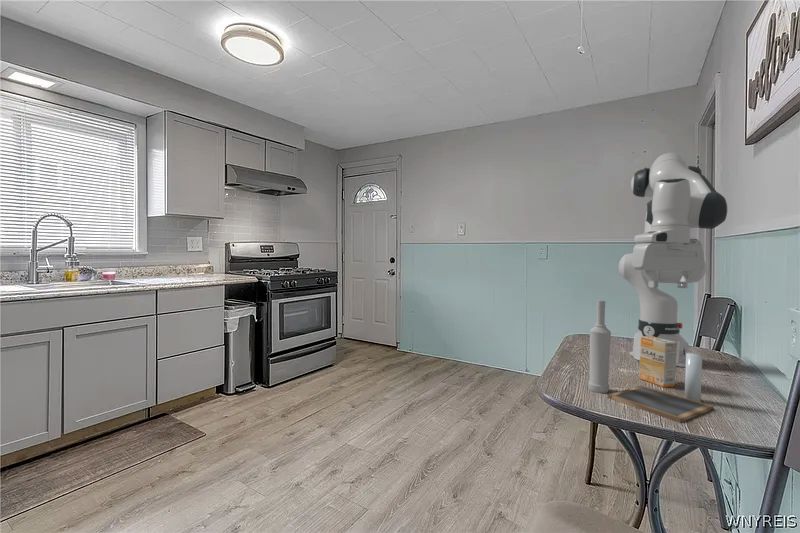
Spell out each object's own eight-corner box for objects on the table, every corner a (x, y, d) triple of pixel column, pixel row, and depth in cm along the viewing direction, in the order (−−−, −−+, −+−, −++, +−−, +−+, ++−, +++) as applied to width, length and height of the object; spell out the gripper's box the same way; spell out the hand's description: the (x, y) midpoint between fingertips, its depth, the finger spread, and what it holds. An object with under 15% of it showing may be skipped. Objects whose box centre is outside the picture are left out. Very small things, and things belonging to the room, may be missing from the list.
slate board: (641, 387, 110) (641, 385, 110) (713, 409, 95) (713, 405, 95) (607, 397, 102) (607, 394, 102) (680, 422, 87) (680, 418, 87)
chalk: (688, 396, 104) (689, 352, 103) (703, 400, 101) (704, 355, 100) (681, 398, 102) (683, 353, 101) (696, 403, 99) (698, 356, 99)
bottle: (592, 385, 112) (594, 299, 111) (611, 390, 108) (614, 300, 107) (585, 389, 108) (587, 300, 107) (605, 394, 104) (608, 302, 103)
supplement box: (637, 378, 118) (639, 336, 118) (649, 377, 120) (651, 335, 119) (663, 387, 110) (665, 342, 110) (676, 386, 112) (677, 341, 111)
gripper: (690, 239, 111) (689, 287, 111) (629, 236, 107) (627, 286, 107) (712, 238, 105) (710, 289, 105) (647, 234, 101) (645, 287, 101)
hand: (667, 287), depth 106 cm, fingers open, 8 cm apart
